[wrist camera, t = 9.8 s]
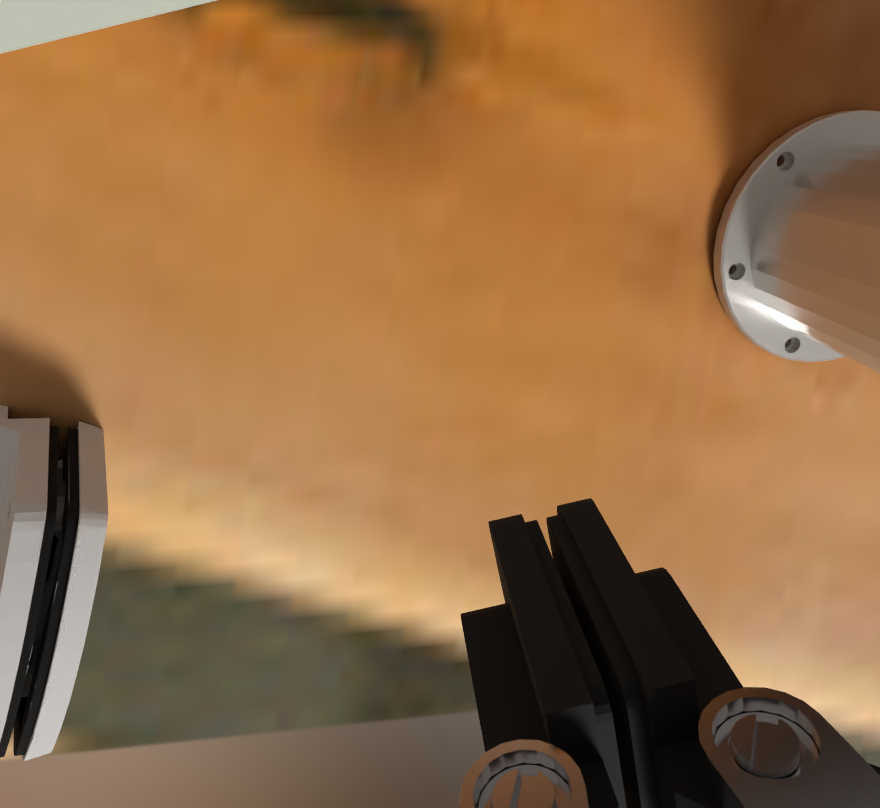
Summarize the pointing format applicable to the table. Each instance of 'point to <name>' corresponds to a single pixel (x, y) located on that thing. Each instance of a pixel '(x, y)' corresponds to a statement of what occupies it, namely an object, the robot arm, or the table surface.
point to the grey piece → (25, 568)
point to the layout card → (73, 17)
